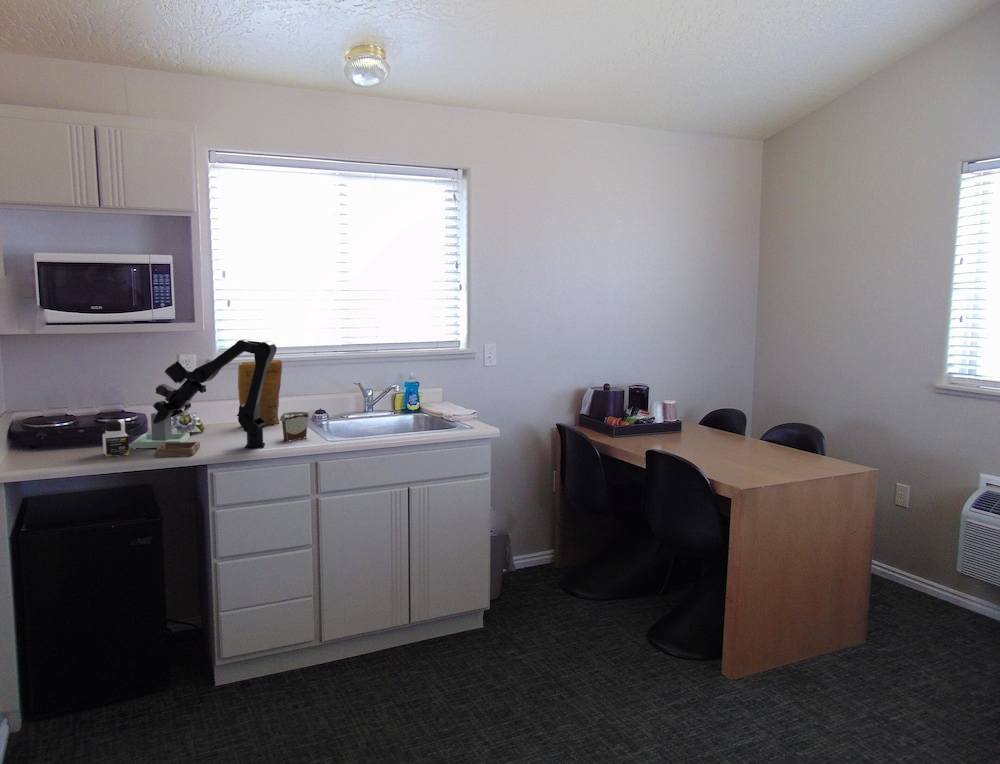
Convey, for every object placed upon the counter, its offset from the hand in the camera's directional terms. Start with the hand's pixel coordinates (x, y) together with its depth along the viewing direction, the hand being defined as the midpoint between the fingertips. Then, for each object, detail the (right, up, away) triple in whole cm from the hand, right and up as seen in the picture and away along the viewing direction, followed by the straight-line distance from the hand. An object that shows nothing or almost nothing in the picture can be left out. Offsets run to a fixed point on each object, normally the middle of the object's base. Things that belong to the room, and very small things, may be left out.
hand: (157, 421), depth 270 cm
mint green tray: (+1, -8, +1) cm, 9 cm away
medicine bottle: (-6, -11, -17) cm, 21 cm away
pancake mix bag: (+25, -4, +41) cm, 48 cm away
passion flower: (+2, -6, +21) cm, 22 cm away
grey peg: (+1, -7, +1) cm, 7 cm away
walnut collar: (+13, -10, -12) cm, 21 cm away
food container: (+45, -8, +15) cm, 48 cm away
